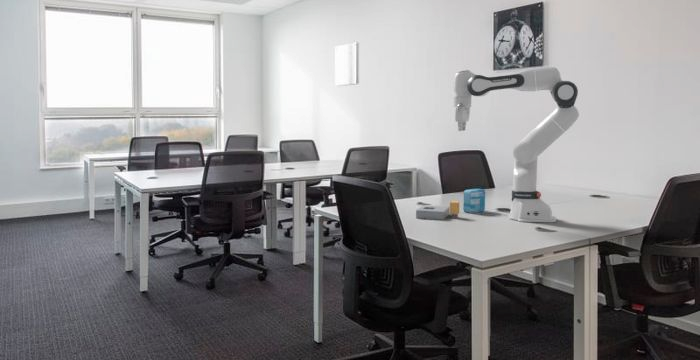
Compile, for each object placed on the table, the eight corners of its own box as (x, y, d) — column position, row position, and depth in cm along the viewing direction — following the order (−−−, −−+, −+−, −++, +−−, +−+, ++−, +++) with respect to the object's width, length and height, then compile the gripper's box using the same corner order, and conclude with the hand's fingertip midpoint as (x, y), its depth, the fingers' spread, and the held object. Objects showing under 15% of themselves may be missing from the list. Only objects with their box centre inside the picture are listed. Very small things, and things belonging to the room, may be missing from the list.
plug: (459, 216, 268) (459, 201, 267) (457, 218, 264) (458, 202, 263) (451, 216, 269) (451, 201, 268) (449, 217, 266) (450, 202, 265)
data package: (469, 213, 278) (469, 191, 276) (463, 212, 281) (463, 190, 280) (484, 211, 284) (485, 189, 283) (478, 209, 288) (479, 188, 287)
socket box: (449, 214, 276) (449, 206, 275) (443, 219, 261) (443, 211, 260) (423, 212, 281) (423, 205, 280) (416, 218, 266) (416, 210, 265)
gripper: (465, 102, 255) (464, 131, 257) (471, 103, 274) (471, 130, 276) (452, 102, 257) (451, 131, 259) (459, 103, 276) (459, 130, 278)
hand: (461, 130), depth 267 cm, fingers open, 8 cm apart
